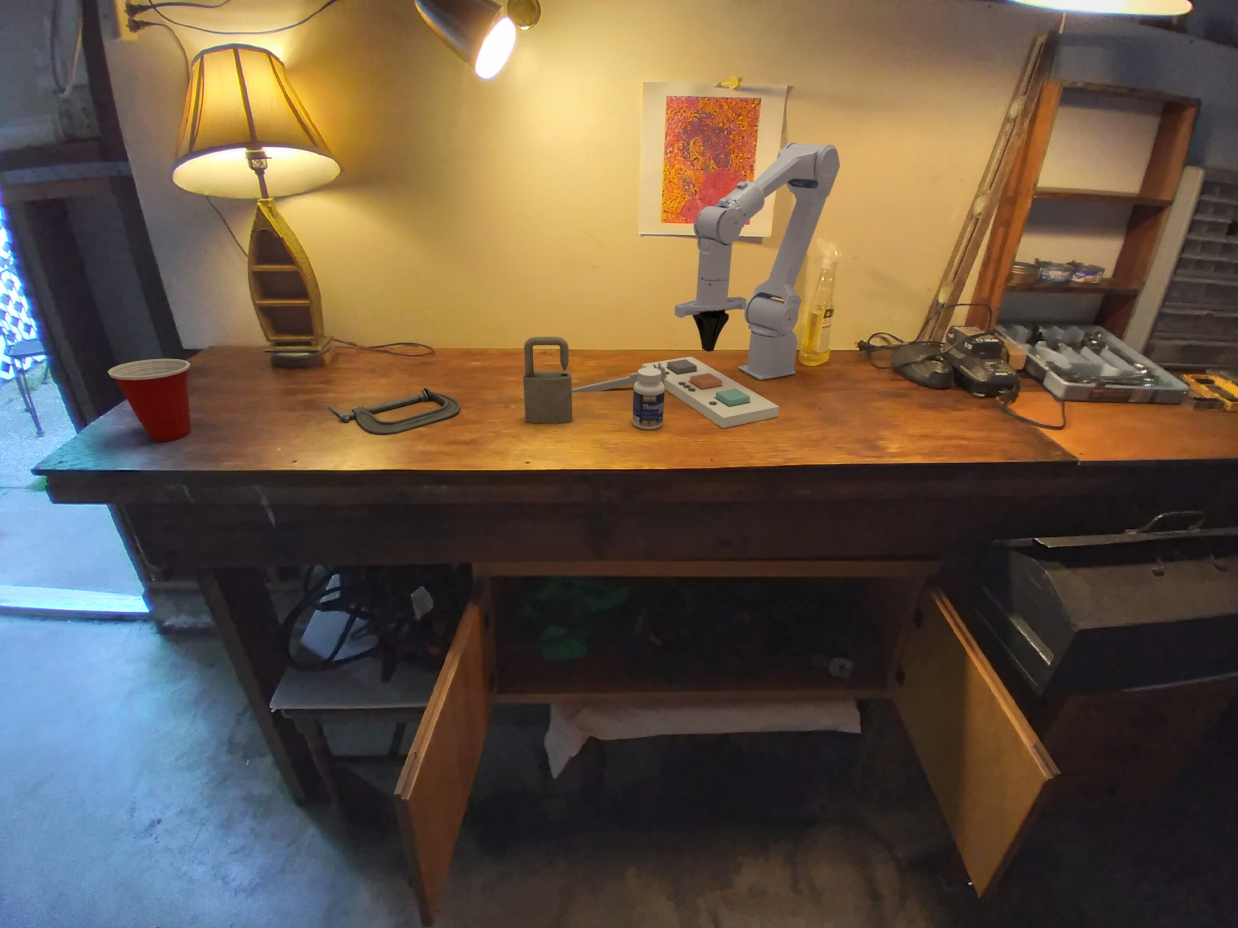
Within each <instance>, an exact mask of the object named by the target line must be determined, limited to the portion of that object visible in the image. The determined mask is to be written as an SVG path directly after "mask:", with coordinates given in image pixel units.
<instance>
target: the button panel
mask: <svg viewBox="0 0 1238 928" xmlns="http://www.w3.org/2000/svg"><path fill="white" fill-rule="evenodd" d="M684 359H686V360H688V361H690V362H691V363H693V364H695V365H696V366H697V372H692V373H685V374H679V375H677V374H675V373H674V372H672V371H671V370H669V369H667V362H671V361H678V360H684ZM659 362H660V364H661V367H664V368H665V372H666V376H667V378H664V386H665V391H667V392H669V393H670V394H671V395H673V396H675V397H676V398H677V399H679V400H680V401H682V403H683V402H684V403H685V404H686V405H688V406H690V408H692V409H693V410H695V411H697V412H698V413H700V414H701V415H702V416H704V417H705V418H707V419H708V420H709V421H711V422H712V423H714V424H716V425H717V426H718V427H720V428H722V429H726V428H731V427H735V426H739V425H740V426H741V425H745V424H750V423H755V422H759V421H764V420H769V419H773V418H778V417H779V412H780V406H779V405H777V404H775V403H774V402H772V401H770V400H768V399H767V398H765V397H763V396H761V395H760V394H758V393H757V392H754V391H753V390H751V389H749V388H747V387H746V386H744V385H743V384H740V383H739V382H737V381H735V380H733V379H731V378H730V377H729V376H726V374H725V375H724V374H723V373H721V372H719V371H717V370H716V369H714V368H712V367H711V366H708V365H707V364H705V363H703V362H702V361H700V360H698V359H697V358H694V356H686V357H679V358H674V359H667V360H662V361H655V362H654V361H653V362H648V363H647V362H646V363H641V369H642V368H654V366H653V363H654V364H655V365H656V367H657V368H658V363H659ZM707 373H710V374H712V375H714V376H715V377H717V378H719V379H720V380H722V386H721V387H716V388H711V389H705V390H701V389H699V388H698V387H696V386H694V385H693V384H691V383H690V376H695V375H701V374H707ZM660 382H661V381H660ZM730 389H738V390H739V391H741V392H743V393H745V394H746V395H748V396H750V401H749V403H748V404H743V405H738V406H732V407H728V406H726V405H725V404H723V403H721V402H720V401H718V400H717V399H716V392H719V391H725V390H730Z"/></svg>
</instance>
